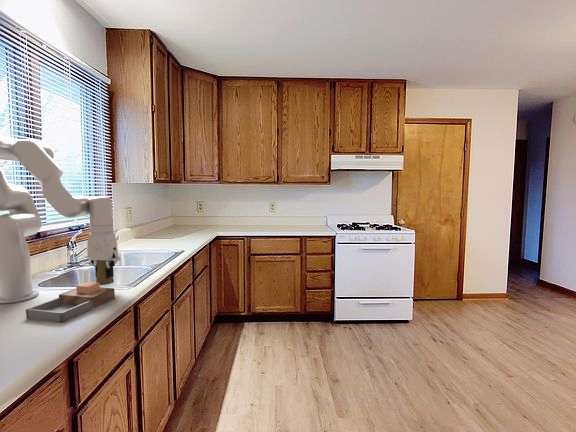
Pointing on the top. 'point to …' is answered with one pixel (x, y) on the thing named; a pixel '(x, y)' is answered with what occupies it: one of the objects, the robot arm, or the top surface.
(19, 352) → the top surface
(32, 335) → the top surface
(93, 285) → the tile
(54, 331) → the top surface
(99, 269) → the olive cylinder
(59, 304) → the box
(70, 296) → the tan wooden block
